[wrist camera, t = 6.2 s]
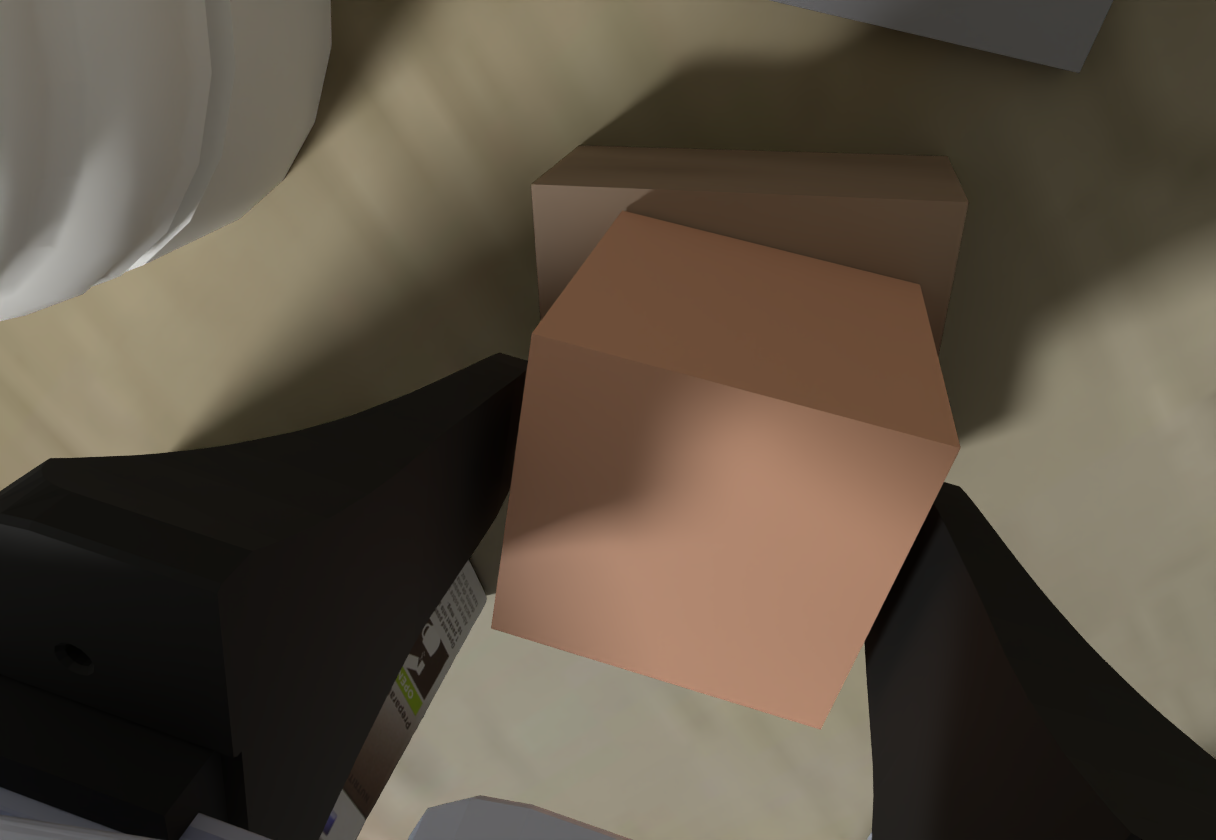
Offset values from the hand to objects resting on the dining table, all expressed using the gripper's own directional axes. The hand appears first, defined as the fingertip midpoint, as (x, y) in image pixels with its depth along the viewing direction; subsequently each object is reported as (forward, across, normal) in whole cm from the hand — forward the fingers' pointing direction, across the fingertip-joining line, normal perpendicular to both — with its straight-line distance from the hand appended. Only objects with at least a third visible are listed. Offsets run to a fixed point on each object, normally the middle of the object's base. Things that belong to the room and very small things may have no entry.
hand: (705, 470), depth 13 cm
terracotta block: (+3, 0, 0) cm, 3 cm away
